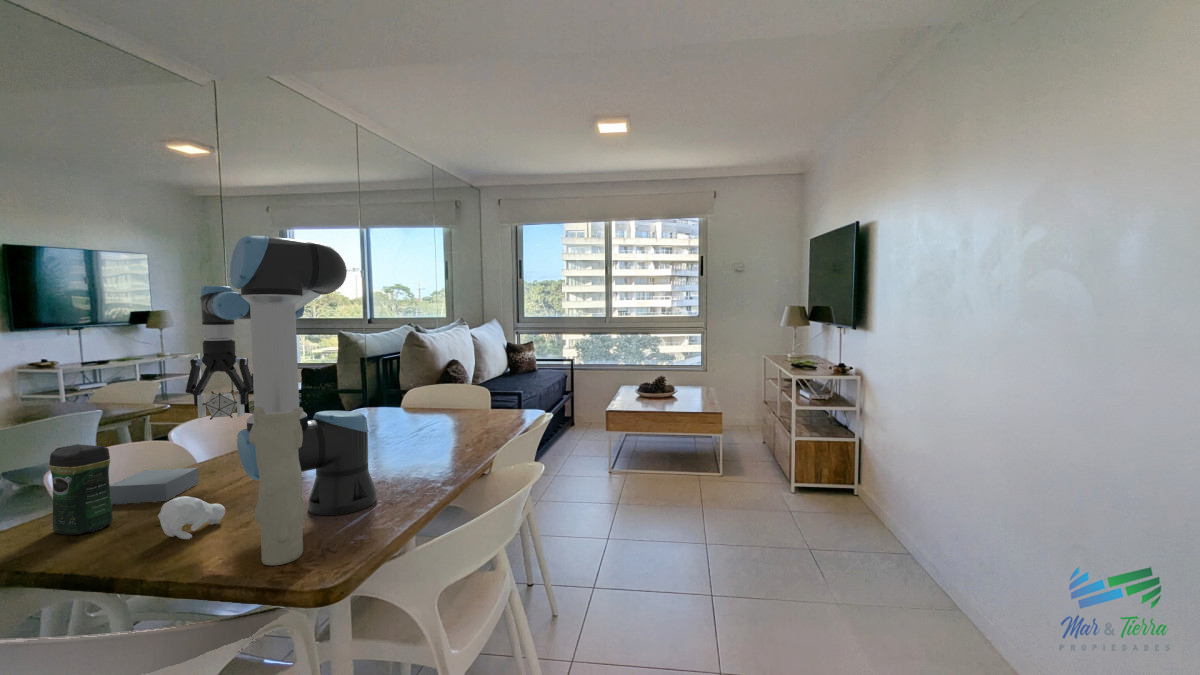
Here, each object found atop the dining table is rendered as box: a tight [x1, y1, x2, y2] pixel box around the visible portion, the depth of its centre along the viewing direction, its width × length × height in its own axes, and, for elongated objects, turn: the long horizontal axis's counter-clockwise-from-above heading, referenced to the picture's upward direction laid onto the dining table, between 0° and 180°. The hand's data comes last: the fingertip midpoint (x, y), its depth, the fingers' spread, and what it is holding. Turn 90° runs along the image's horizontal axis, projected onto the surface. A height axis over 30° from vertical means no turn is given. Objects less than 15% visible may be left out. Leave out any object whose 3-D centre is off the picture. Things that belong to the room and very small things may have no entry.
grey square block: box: [109, 467, 200, 506], centre depth 131 cm, size 13×13×5 cm
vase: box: [249, 406, 306, 566], centre depth 97 cm, size 9×8×30 cm
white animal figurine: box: [157, 496, 226, 540], centre depth 109 cm, size 6×8×12 cm
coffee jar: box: [48, 443, 114, 535], centre depth 110 cm, size 10×8×19 cm
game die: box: [202, 389, 237, 421], centre depth 146 cm, size 9×8×10 cm
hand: (221, 416), depth 146 cm, fingers closed on game die, 9 cm apart
